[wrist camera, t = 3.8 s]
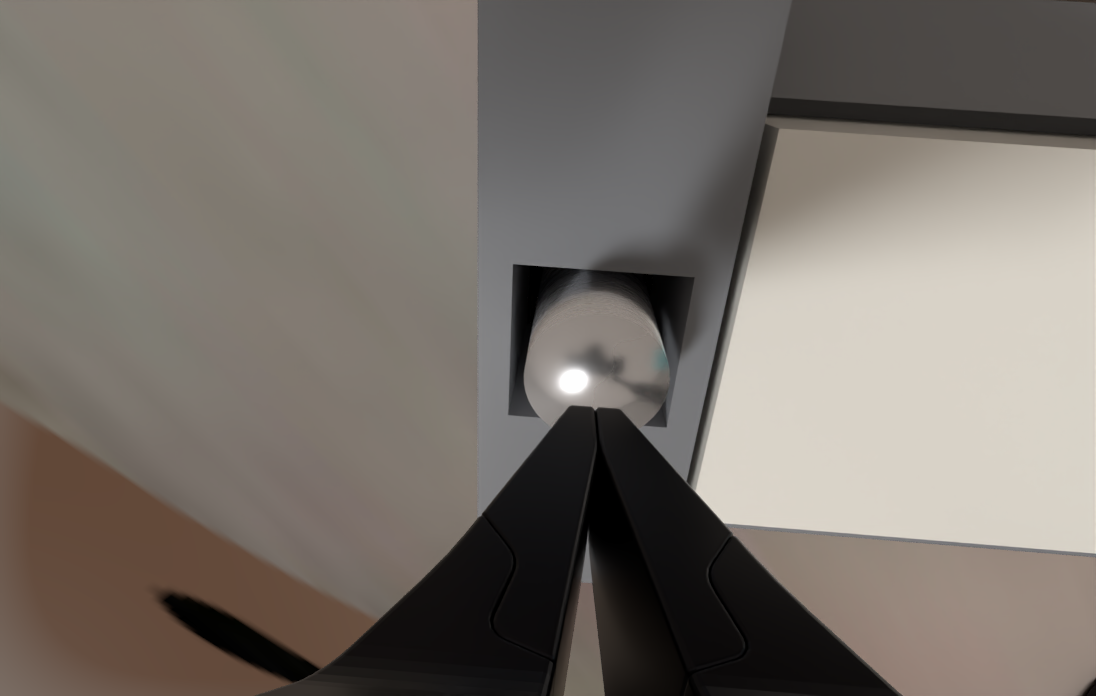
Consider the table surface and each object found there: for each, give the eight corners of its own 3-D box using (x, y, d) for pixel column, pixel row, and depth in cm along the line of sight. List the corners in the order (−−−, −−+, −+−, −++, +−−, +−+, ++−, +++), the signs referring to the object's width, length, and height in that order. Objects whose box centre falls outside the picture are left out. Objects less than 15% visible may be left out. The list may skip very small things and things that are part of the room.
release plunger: (539, 322, 16) (521, 435, 12) (544, 227, 15) (526, 308, 10) (635, 330, 16) (658, 445, 11) (648, 235, 15) (681, 320, 10)
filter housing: (501, 457, 20) (477, 573, 15) (512, -19, 13) (477, -58, 9) (1113, 505, 19) (1273, 640, 15) (1432, 39, 13) (1885, 27, 8)
